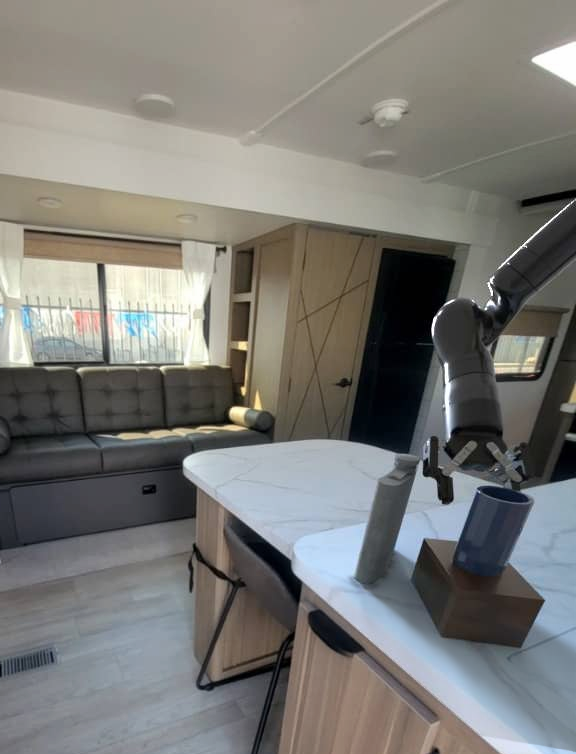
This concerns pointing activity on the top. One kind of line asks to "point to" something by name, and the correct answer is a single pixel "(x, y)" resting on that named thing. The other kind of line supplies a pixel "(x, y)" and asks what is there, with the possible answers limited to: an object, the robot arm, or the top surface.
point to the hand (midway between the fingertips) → (479, 506)
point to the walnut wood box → (474, 598)
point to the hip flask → (386, 518)
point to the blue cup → (491, 530)
